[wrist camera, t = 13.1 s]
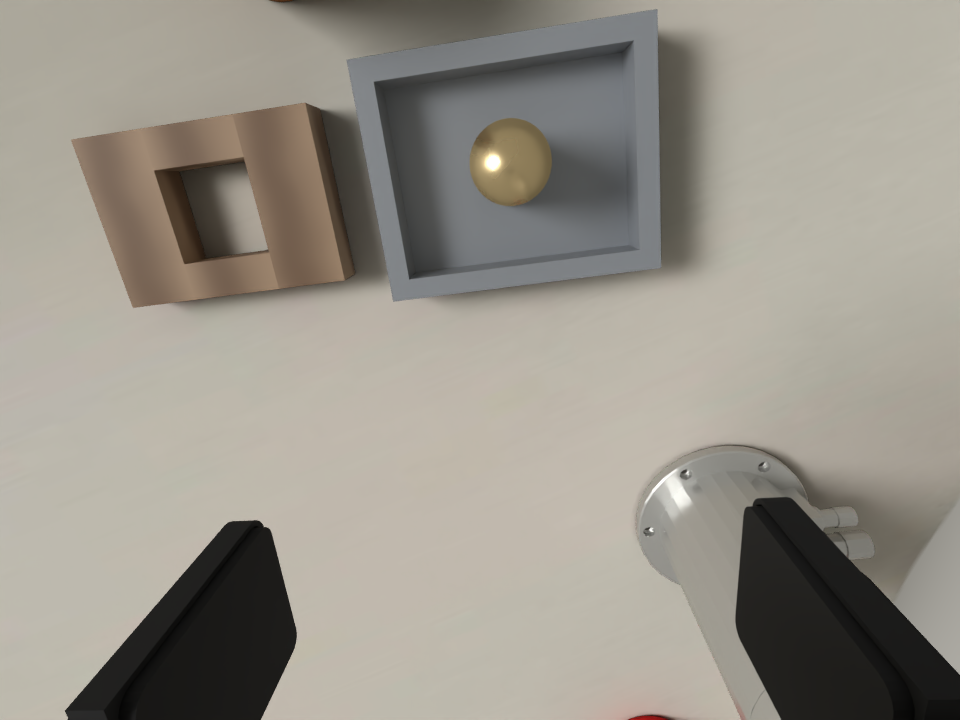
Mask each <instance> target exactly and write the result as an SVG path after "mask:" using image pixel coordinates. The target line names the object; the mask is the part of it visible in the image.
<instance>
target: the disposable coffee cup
mask: <svg viewBox="0 0 960 720" xmlns="http://www.w3.org/2000/svg"><path fill="white" fill-rule="evenodd" d="M271 1H277V2H286V1H292V0H271Z"/></svg>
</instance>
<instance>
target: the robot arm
mask: <svg viewBox="0 0 960 720" xmlns="http://www.w3.org/2000/svg"><path fill="white" fill-rule="evenodd" d="M857 524H858V516H857V513H856V511H855V510H854V509H853V508H852V507H850V506H844V507H833V508H829V509H821V510H819V509H818V508H817V507H815V506H811V505H810V504H809V500H808V497H807V494H806V492H805V489H804V487H803V485H802V484H801V482H800V481H799V479H798V478H797V476H796V475H795V474H794V473H793V472H792V471H791V470H790V469H789V468H788V467H787V466H786V465H785V464H783V463H782V462H781V461H779V460H778V459H777V458H775V457H774V456H772V455H769V454H767V453H765V452H763V451H761V450H757V449H753V448H749V447H743V446H719V447H711V448H707V449H703V450H699V451H696V452H693V453H691V454H689V455H686V456H684V457H682V458H680V459H678V460H677V461H675V462H674V463H672V464H670V465H669V466H667V467H666V468H665V469H664V470H663V471H662V472H660V473H659V474H658V475H657V476H656V477H655V478H654V479H653V481H652V482H651V483H650V485H649V486H648V487H647V488H646V490H645V492H644V494H643V496H642V498H641V500H640V502H639V505H638V509H637V513H636V533H637V537H638V541H639V544H640V546H641V548H642V551H643V554H644V555H645V557H646V558H647V560H648V562H649V563H650V565H651V566H652V567H653V568H654V569H655V570H656V571H657V572H658V573H659V574H661V575H663V576H664V577H666V578H667V579H669V580H670V581H672V582H674V583H677V584H679V585H681V588H682V590H683V592H684V594H685V596H686V599H687V601H688V603H689V605H690V607H691V610H692V612H693V614H694V616H695V618H696V621H697V623H698V625H699V627H700V630H701V632H702V634H703V636H704V638H705V641H706V643H707V645H708V647H709V649H710V652H711V654H712V656H713V658H714V660H715V663H716V665H717V667H718V669H719V671H720V674H721V676H722V678H723V680H724V682H725V685H726V687H727V689H728V691H729V693H730V696H731V698H732V700H733V702H734V704H735V707H736V709H737V711H738V713H739V715H740V718H741V720H960V675H959V674H958V673H957V672H956V670H955V669H954V668H953V667H952V666H951V665H950V664H949V663H948V662H947V661H946V660H945V659H944V658H943V657H942V656H941V654H939V652H938V651H937V650H936V649H935V648H934V647H933V646H932V645H931V644H930V643H929V642H928V641H927V639H926V638H924V636H923V635H922V634H921V633H920V632H919V631H918V630H917V629H916V628H915V627H914V626H913V625H912V624H911V622H910V621H909V620H907V618H906V617H905V616H904V615H903V614H902V613H901V612H900V611H899V610H898V609H897V608H896V606H895V605H894V604H893V603H892V602H891V601H890V600H889V599H888V598H887V597H886V596H885V595H884V594H883V593H882V592H881V590H880V589H879V588H878V587H877V586H876V585H875V584H874V583H873V582H872V581H871V580H870V579H869V578H868V577H867V576H866V575H864V574H863V573H862V572H860V571H859V569H858V568H857V567H856V566H855V565H854V564H853V563H852V562H851V561H850V560H854V559H866V558H872V557H873V556H874V553H875V548H874V544H873V541H872V539H871V537H870V536H869V535H868V533H867V532H865V531H863V530H856V531H844V532H834V533H833V534H825V533H824V532H823V530H824V528H828V527H835V528H839V527H851V526H857ZM296 638H297V632H296V627H295V623H294V619H293V615H292V611H291V607H290V603H289V599H288V595H287V591H286V588H285V584H284V580H283V576H282V572H281V568H280V564H279V560H278V556H277V552H276V548H275V545H274V541H273V537H272V533H271V531H270V529H269V528H267V527H264V526H263V524H262V523H261V522H260V521H257V520H254V521H232V522H228V523H227V524H226V525H225V526H224V527H223V528H222V529H221V531H220V532H219V533H218V534H217V535H216V536H215V538H214V539H213V540H212V541H211V542H210V543H209V544H208V546H207V547H206V548H205V549H204V550H203V551H202V553H201V554H200V555H199V556H198V557H197V558H196V560H195V561H194V562H193V563H192V564H191V565H190V567H189V568H188V569H187V570H186V571H185V572H184V573H183V575H182V576H181V577H180V578H179V579H178V580H177V582H176V583H175V584H174V585H173V586H172V587H171V589H170V590H169V591H168V592H167V593H166V594H165V595H164V597H163V598H162V599H161V600H160V601H159V602H158V604H157V605H156V606H155V607H154V608H153V609H152V611H151V612H150V613H149V614H148V615H147V616H146V618H145V619H144V620H143V621H142V622H141V623H140V624H139V626H138V627H137V628H136V629H135V630H134V631H133V633H132V634H131V635H130V636H129V637H128V638H127V640H126V641H125V642H124V643H123V644H122V645H121V646H120V648H119V649H118V650H117V651H116V652H115V653H114V655H113V656H112V657H111V658H110V659H109V660H108V662H107V663H106V664H105V665H104V666H103V667H102V669H101V670H100V671H99V672H98V673H97V674H96V675H95V677H94V678H93V679H92V680H91V681H90V682H89V684H88V685H87V686H86V687H85V688H84V689H83V691H82V692H81V693H80V694H79V695H78V696H77V698H76V699H75V700H74V701H73V702H72V703H71V704H70V706H69V707H68V708H67V709H66V710H65V712H66V714H67V716H68V720H261V718H262V716H263V714H264V712H265V710H266V708H267V705H268V703H269V701H270V699H271V697H272V695H273V693H274V691H275V689H276V687H277V684H278V682H279V680H280V678H281V676H282V674H283V672H284V670H285V668H286V665H287V663H288V661H289V659H290V657H291V655H292V653H293V650H294V648H295V644H296Z"/></svg>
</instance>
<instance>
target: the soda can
mask: <svg viewBox="0 0 960 720" xmlns="http://www.w3.org/2000/svg"><path fill="white" fill-rule="evenodd" d="M629 720H668V719H665V718H662V717H657V716H639V717H635V718H631V719H629Z"/></svg>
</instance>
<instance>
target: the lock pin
mask: <svg viewBox="0 0 960 720" xmlns="http://www.w3.org/2000/svg"><path fill="white" fill-rule="evenodd" d="M469 165H470V173H471V177H472V179H473V182H474V184H475V186H476V187H477V189H478V190H479V192H480V193H481V194H482V195H483V196H484V197H486V198H487V199H488V200H490V201H491V202H494V203H496V204H499V205H503V206H517V205H521V204H524V203H526V202H528V201H530V200H532V199H533V198H534V197H536V196H537V195H538V194H539V193H540V192H541V191H542V189H543V188H544V186H545V185H546V183H547V181H548V179H549V176H550V173H551V167H552V155H551V150H550V147H549V144H548V142H547V140H546V138H545V136H544V135H543V133H542V132H541V131H540V130H539V129H538V128H537V127H536V126H534V125H533V124H531V123H530V122H527V121H525V120H522V119H517V118H505V119H501V120H498V121H495V122H493V123H492V124H490V125H488V126H487V127H486V128H485V129H484V130H483V131H482V132H481V133H480V134H479V135H478V137H477V138H476V140H475V142H474V144H473V146H472V149H471V153H470V164H469Z"/></svg>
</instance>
